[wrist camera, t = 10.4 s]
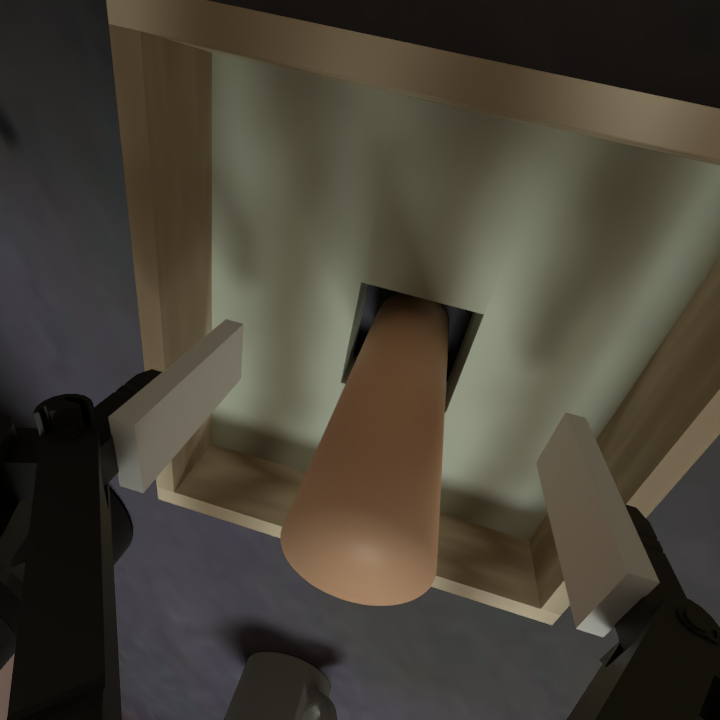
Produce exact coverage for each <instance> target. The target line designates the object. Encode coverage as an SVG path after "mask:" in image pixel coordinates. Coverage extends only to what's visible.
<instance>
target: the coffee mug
mask: <svg viewBox="0 0 720 720" xmlns="http://www.w3.org/2000/svg"><path fill="white" fill-rule="evenodd" d="M330 689H331V687H330V683H329V681H328V679H327V678H326V677H325V676H324V675H323V674H322V673H321V672H320V671H319V670H318V669H317V668H315V667H314V666H312V665H310V664H309V663H307V662H305V661H303V660H301V659H299V658H296V657H293V656H290V655H286V654H283V653H277V652H259V653H255V654H253V655H251V656H250V657H249V658H248V660H247V663H246V665H245V668H244V670H243V673H242V675H241V678H240V680H239V683H238V685H237V688H236V691H235V693H234V696H233V698H232V701H231V703H230V706H229V708H228V711H227V713H226V716H225V718H224V720H337V715H336V709H335V706H334V704H333V702H332V701H331V700H330V699H329V694H330Z"/></svg>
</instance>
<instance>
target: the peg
mask: <svg viewBox="0 0 720 720" xmlns="http://www.w3.org/2000/svg"><path fill="white" fill-rule="evenodd" d="M448 339H449V320H448V316H447V313H446V311H445V309H444V308H443V307H442V305H441V304H440V303H438V302H434V301H430V300H427V299H423V298H419V297H415V296H411V295H408V294H404V293H397V294H395V295H393V296H391V297H389V298H388V299H387V300H386V301H385V302H384V303H383V304H382V305H381V306H380V308H379V310H378V312H377V314H376V316H375V319H374V321H373V323H372V325H371V328H370V330H369V332H368V334H367V337H366V339H365V341H364V343H363V346H362V348H361V350H360V352H359V355H358V357H357V359H356V362H355V364H354V366H353V368H352V371H351V373H350V375H349V377H348V380H347V382H346V384H345V386H344V389H343V391H342V393H341V395H340V398H339V400H338V402H337V404H336V407H335V409H334V411H333V413H332V416H331V418H330V420H329V422H328V425H327V427H326V429H325V432H324V434H323V436H322V438H321V441H320V443H319V445H318V447H317V450H316V452H315V454H314V456H313V459H312V461H311V463H310V465H309V468H308V470H307V472H306V474H305V477H304V479H303V481H302V483H301V486H300V488H299V490H298V492H297V495H296V497H295V499H294V502H293V504H292V506H291V508H290V511H289V513H288V515H287V517H286V520H285V522H284V524H283V526H282V530H281V535H280V541H281V547H282V550H283V553H284V555H285V557H286V559H287V560H288V562H289V563H290V565H291V566H292V567H293V568H294V569H295V571H296V572H297V573H298V574H299V575H300V576H302V577H303V578H304V579H305V580H306V581H308V582H309V583H310V584H312V585H313V586H315V587H317V588H318V589H320V590H322V591H324V592H326V593H328V594H330V595H332V596H335V597H337V598H340V599H343V600H346V601H350V602H354V603H358V604H364V605H374V606H389V605H397V604H402V603H406V602H409V601H411V600H414V599H416V598H418V597H420V596H421V595H422V594H424V593H425V592H426V591H427V590H428V589H429V588H430V587H431V585H432V584H433V582H434V579H435V577H436V571H437V554H438V534H439V515H440V495H441V476H442V456H443V437H444V417H445V398H446V378H447V359H448Z"/></svg>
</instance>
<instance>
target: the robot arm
mask: <svg viewBox="0 0 720 720" xmlns="http://www.w3.org/2000/svg"><path fill="white" fill-rule="evenodd" d="M243 325H244V324H242V323H238V322H235V321H231V320H227V319H225V320H224V321H223V322H222V323H221V324H219V325H218V326H217V327H216V328H215V329H213V330H212V331H211V332H210V333H209V334H207V335H206V336H205V337H204V338H203V339H201V340H200V341H199V342H198V343H197V344H195V345H194V346H193V347H192V348H191V349H189V350H188V351H187V352H186V353H185V354H183V355H182V356H181V357H180V358H179V359H177V360H176V361H175V362H174V363H173V364H171V365H170V366H169V367H168V368H167V369H165V370H164V371H163V372H161V371H157V370H154V369H150V370H148V371H145V372H142V373H140V374H137V375H136V376H134V377H133V378H132V379H130V380H129V381H128V382H127V383H125V385H123V386H121V387H120V388H119V389H118V390H116V392H114V393H112V394H111V395H110V396H108V397H107V398H106V399H105V400H103V401H102V402H101V403H99V404H98V405H97V406H96V407H94V406H93V403H92V401H91V399H89V398H88V397H86V396H84V395H79V394H63V395H59V396H54V397H52V398H49V399H47V400H45V401H43V402H42V403H41V404H39V405H38V406H37V407H36V409H35V410H34V412H33V414H34V418H35V421H36V425H37V428H38V429H31V428H15V426H14V423H13V421H12V419H11V418H10V417H9V416H7V415H5V414H2V413H0V670H1V669H2V668H3V666H4V665H5V664H6V663H7V662H8V661H9V659H10V658H11V657H12V656H13V654H15V657H14V665H13V674H12V683H11V692H10V700H9V708H8V717H7V720H122V715H121V696H120V677H119V659H118V640H117V622H116V603H115V584H114V565H115V563H116V562H117V561H118V560H119V558H120V557H121V556H122V555H123V553H124V552H125V551H126V550H127V548H128V547H129V545H130V543H131V540H132V527H131V523H130V520H129V518H128V515H127V513H126V511H125V510H124V508H123V506H122V505H121V503H120V502H119V501H118V499H117V498H116V497H115V496H114V494H113V493H112V492H111V491H110V490H109V484H108V482H109V481H110V480H111V479H112V478H113V477H114V476H115V475H116V474H117V473H118V477H119V483H120V486H122V487H125V488H128V489H131V490H135V491H138V492H141V493H144V492H145V490H146V489H147V488H148V487H149V486H150V485H151V483H152V482H153V481H154V480H155V479H156V478H157V476H158V475H159V474H160V473H161V472H162V471H163V469H164V468H165V467H166V466H167V465H168V464H169V462H170V461H171V460H172V459H173V458H174V456H175V455H176V454H177V453H178V452H179V451H180V449H181V448H182V447H183V446H184V445H185V444H186V442H187V441H188V440H189V439H190V438H191V437H192V435H193V434H194V433H195V432H196V431H197V430H198V428H199V427H200V426H201V425H202V424H203V423H204V421H205V420H206V419H207V418H208V417H209V416H210V414H211V413H212V412H213V411H214V410H215V409H216V407H217V406H218V405H219V404H220V403H221V402H222V400H223V399H224V398H225V397H226V396H227V395H228V393H229V392H230V391H231V390H232V389H233V388H234V386H235V385H236V384H237V383H238V382H239V381H240V379H241V367H242V346H243ZM536 465H537V470H538V474H539V478H540V482H541V486H542V490H543V494H544V499H545V503H546V507H547V511H548V515H549V519H550V524H551V528H552V532H553V536H554V540H555V544H556V548H557V553H558V557H559V561H560V565H561V569H562V573H563V578H564V582H565V586H566V590H567V594H568V598H569V603H570V607H571V611H572V615H573V619H574V623H575V627H576V629H578V630H582V631H585V632H588V633H591V634H594V635H598V636H601V637H604V636H605V635H606V634H607V633H608V632H609V631H610V630H611V629H612V628H613V627H615V628H616V631H617V634H618V638H619V641H620V642H618V643H617V644H616V645H615V646H614V647H613V648H612V649H611V650H610V651H609V652H608V653H607V654H605V655H604V656H603V657H602V658H601V659H600V661H601V662H602V663H603V664H602V666H601V667H600V669H599V670H598V672H597V673H596V675H595V677H594V678H593V680H592V681H591V683H590V684H589V686H588V687H587V689H586V691H585V692H584V694H583V695H582V697H581V698H580V700H579V701H578V703H577V705H576V706H575V708H574V709H573V711H572V712H571V714H570V715H569V717H568V719H567V720H720V627H719V626H718V625H717V623H716V622H715V621H714V619H713V618H712V617H711V616H710V615H709V614H708V613H707V612H706V611H705V610H704V609H703V608H702V607H700V606H699V605H697V604H696V603H694V602H693V601H691V600H689V599H687V598H686V596H685V594H684V592H683V590H682V587H681V585H680V583H679V581H678V579H677V577H676V575H675V573H674V571H673V569H672V567H671V565H670V563H669V561H668V559H667V557H666V555H665V554H664V553H663V549H662V547H661V545H660V543H659V541H657V537H656V535H655V533H654V531H653V529H652V527H651V525H650V523H649V521H648V520H647V519H646V518H645V517H644V516H643V514H642V513H641V512H640V511H639V510H638V509H637V508H636V507H633V506H629V505H626V504H624V502H623V500H622V498H621V495H620V493H619V491H618V489H617V486H616V484H615V482H614V480H613V478H612V475H611V473H610V471H609V469H608V466H607V464H606V462H605V460H604V458H603V455H602V453H601V451H600V449H599V446H598V444H597V442H596V440H595V437H594V435H593V433H592V431H591V429H590V426H589V424H588V422H587V420H586V418H585V417H581V416H577V415H574V414H570V413H566V412H565V414H564V416H563V418H562V419H561V421H560V423H559V424H558V426H557V428H556V429H555V431H554V433H553V435H552V436H551V438H550V440H549V441H548V443H547V445H546V447H545V448H544V450H543V452H542V453H541V455H540V457H539V458H538V460H537V462H536Z"/></svg>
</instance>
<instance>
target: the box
mask: <svg viewBox="0 0 720 720" xmlns="http://www.w3.org/2000/svg"><path fill="white" fill-rule="evenodd" d="M106 4H107V13H108V23H109V32H110V42H111V52H112V61H113V71H114V80H115V90H116V99H117V109H118V119H119V128H120V138H121V147H122V157H123V166H124V176H125V186H126V195H127V205H128V214H129V224H130V233H131V243H132V253H133V262H134V272H135V281H136V291H137V300H138V310H139V320H140V329H141V339H142V348H143V358H144V367H145V371H148V370H150V369H154V370H157V371H161V372H163V371H164V370H165V369H167V368H168V367H169V366H170V365H171V364H173V363H174V362H175V361H176V360H177V359H179V358H180V357H181V356H182V355H183V354H185V353H186V352H187V351H188V350H189V349H191V348H192V347H193V346H194V345H195V344H197V343H198V342H199V341H200V340H201V339H203V338H204V337H205V336H206V335H207V334H209V333H210V332H211V331H212V330H213V329H215V328H216V327H217V326H218V325H219V324H221V323H222V322H223V321H224V320H225V319H227V320H231V321H235V322H238V323H242V324H244V325H243V346H242V367H241V379H240V381H239V382H238V383H237V384H236V385H235V386H234V388H233V389H232V390H231V391H230V392H229V393H228V395H227V396H226V397H225V398H224V399H223V400H222V402H221V403H220V404H219V405H218V406H217V407H216V409H215V410H214V411H213V412H212V413H211V414H210V416H209V417H208V418H207V419H206V420H205V421H204V423H203V424H202V425H201V426H200V427H199V428H198V430H197V431H196V432H195V433H194V434H193V435H192V437H191V438H190V439H189V440H188V441H187V442H186V444H185V445H184V446H183V447H182V448H181V449H180V451H179V452H178V453H177V454H176V455H175V456H174V458H173V459H172V460H171V461H170V462H169V464H168V465H167V466H166V467H165V468H164V469H163V471H162V472H161V473H160V474H159V475H158V476H157V478H156V482H157V492H158V499H160V500H163V501H166V502H169V503H172V504H175V505H179V506H182V507H185V508H188V509H191V510H194V511H197V512H200V513H204V514H207V515H210V516H213V517H216V518H219V519H222V520H225V521H228V522H232V523H235V524H238V525H241V526H244V527H247V528H250V529H253V530H257V531H260V532H263V533H266V534H269V535H272V536H275V537H278V538H280V535H281V530H282V526H283V524H284V522H285V520H286V517H287V515H288V513H289V511H290V508H291V506H292V504H293V502H294V499H295V497H296V495H297V492H298V490H299V488H300V486H301V483H302V481H303V479H304V477H305V474H306V472H307V470H308V468H309V465H310V463H311V461H312V459H313V456H314V454H315V452H316V450H317V447H318V445H319V443H320V441H321V438H322V436H323V434H324V432H325V429H326V427H327V425H328V422H329V420H330V418H331V416H332V413H333V411H334V409H335V407H336V404H337V402H338V400H339V398H340V395H341V393H342V391H343V389H344V386H345V384H346V382H347V380H348V377H349V375H350V373H351V371H352V368H353V366H354V364H355V362H356V359H357V357H358V356H354V350H355V346H356V341H357V336H358V332H359V327H360V322H361V318H362V313H363V308H364V304H365V299H366V294H367V290H368V285H369V284H370V285H373V286H377V287H381V288H385V289H389V290H392V291H396V292H400V293H404V294H408V295H411V296H415V297H419V298H423V299H427V300H430V301H434V302H438V303H442V304H446V305H449V306H453V307H457V308H461V309H465V310H468V311H472V312H473V314H472V317H471V319H470V322H469V325H468V327H467V330H466V333H465V335H464V338H463V341H462V343H461V346H460V349H459V351H458V354H457V357H456V360H455V362H454V365H453V368H452V370H451V373H450V376H449V378H448V381H446V398H445V417H444V437H443V456H442V476H441V495H440V515H439V534H438V554H437V571H436V577H435V579H434V582H433V584H432V585H431V587H434V588H437V589H441V590H444V591H447V592H450V593H453V594H456V595H459V596H462V597H466V598H469V599H472V600H475V601H478V602H481V603H484V604H487V605H490V606H494V607H497V608H500V609H503V610H506V611H509V612H512V613H515V614H519V615H522V616H525V617H528V618H531V619H534V620H537V621H540V622H544V623H547V624H550V625H553V624H554V622H555V621H556V620H557V619H558V618H559V617H560V616H561V614H562V613H563V612H564V611H565V610H566V609H567V608H568V606H569V605H570V603H569V598H568V594H567V590H566V586H565V582H564V578H563V573H562V569H561V565H560V561H559V557H558V553H557V548H556V544H555V540H554V536H553V532H552V528H551V524H550V519H549V515H548V511H547V507H546V503H545V499H544V494H543V490H542V486H541V482H540V478H539V474H538V470H537V465H536V462H537V460H538V458H539V457H540V455H541V453H542V452H543V450H544V448H545V447H546V445H547V443H548V441H549V440H550V438H551V436H552V435H553V433H554V431H555V429H556V428H557V426H558V424H559V423H560V421H561V419H562V418H563V416H564V414H565V412H566V413H570V414H574V415H577V416H581V417H585V418H586V420H587V422H588V424H589V426H590V429H591V431H592V433H593V435H594V437H595V440H596V442H597V444H598V446H599V449H600V451H601V453H602V455H603V458H604V460H605V462H606V464H607V466H608V469H609V471H610V473H611V475H612V478H613V480H614V482H615V484H616V486H617V489H618V491H619V493H620V495H621V498H622V500H623V502H624V504H626V505H629V506H633V507H636V508H637V509H638V510H639V511H640V512H641V513H642V514H643V516H644V517H645V518H646V517H647V516H648V515H649V514H650V513H651V512H652V511H653V509H654V508H655V507H656V506H657V505H658V504H659V503H660V501H661V500H662V499H663V498H664V497H665V496H666V495H667V493H668V492H669V491H670V490H671V489H672V488H673V487H674V485H675V484H676V483H677V482H678V481H679V480H680V479H681V477H682V476H683V475H684V474H685V473H686V472H687V471H688V469H689V468H690V467H691V466H692V465H693V464H694V463H695V462H696V460H697V459H698V458H699V457H700V456H701V455H702V454H703V452H704V451H705V450H706V449H707V448H708V447H709V446H710V444H711V443H712V442H713V441H714V440H715V439H716V438H717V436H718V435H719V434H720V109H718V108H713V107H709V106H704V105H699V104H694V103H690V102H685V101H680V100H676V99H671V98H666V97H661V96H657V95H652V94H647V93H642V92H638V91H633V90H628V89H624V88H619V87H614V86H609V85H605V84H600V83H595V82H591V81H586V80H581V79H576V78H572V77H567V76H562V75H557V74H553V73H548V72H543V71H539V70H534V69H529V68H524V67H520V66H515V65H510V64H506V63H501V62H496V61H491V60H487V59H482V58H477V57H473V56H468V55H463V54H458V53H454V52H449V51H444V50H439V49H435V48H430V47H425V46H421V45H416V44H411V43H406V42H402V41H397V40H392V39H388V38H383V37H378V36H373V35H369V34H364V33H359V32H354V31H350V30H345V29H340V28H336V27H331V26H326V25H321V24H317V23H312V22H307V21H303V20H298V19H293V18H288V17H284V16H279V15H274V14H270V13H265V12H260V11H255V10H251V9H246V8H241V7H236V6H232V5H227V4H222V3H218V2H213V1H208V0H106Z"/></svg>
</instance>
